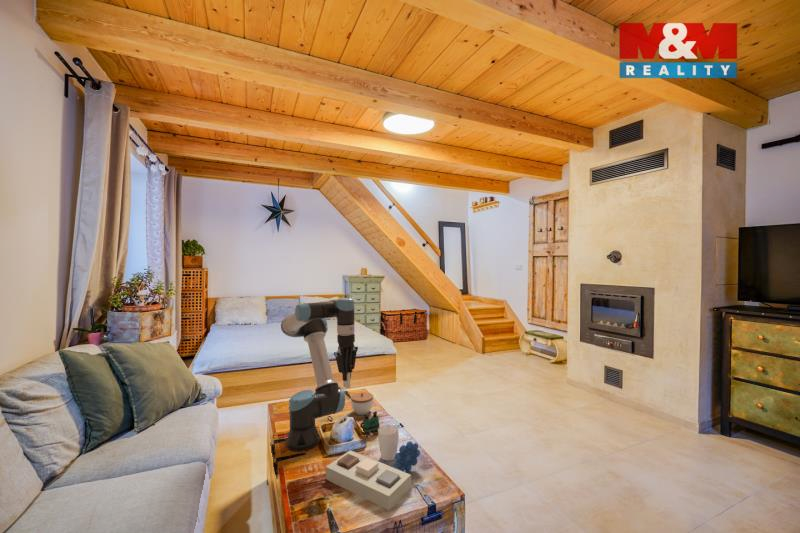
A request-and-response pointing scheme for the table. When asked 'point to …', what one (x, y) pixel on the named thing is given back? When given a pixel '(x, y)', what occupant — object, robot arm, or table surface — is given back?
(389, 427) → the cup
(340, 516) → the table surface
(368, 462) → the ivory key
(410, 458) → the grapes
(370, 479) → the key panel
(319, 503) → the table surface
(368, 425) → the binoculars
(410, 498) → the table surface
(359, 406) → the lidded bowl
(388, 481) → the slate key
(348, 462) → the walnut key
